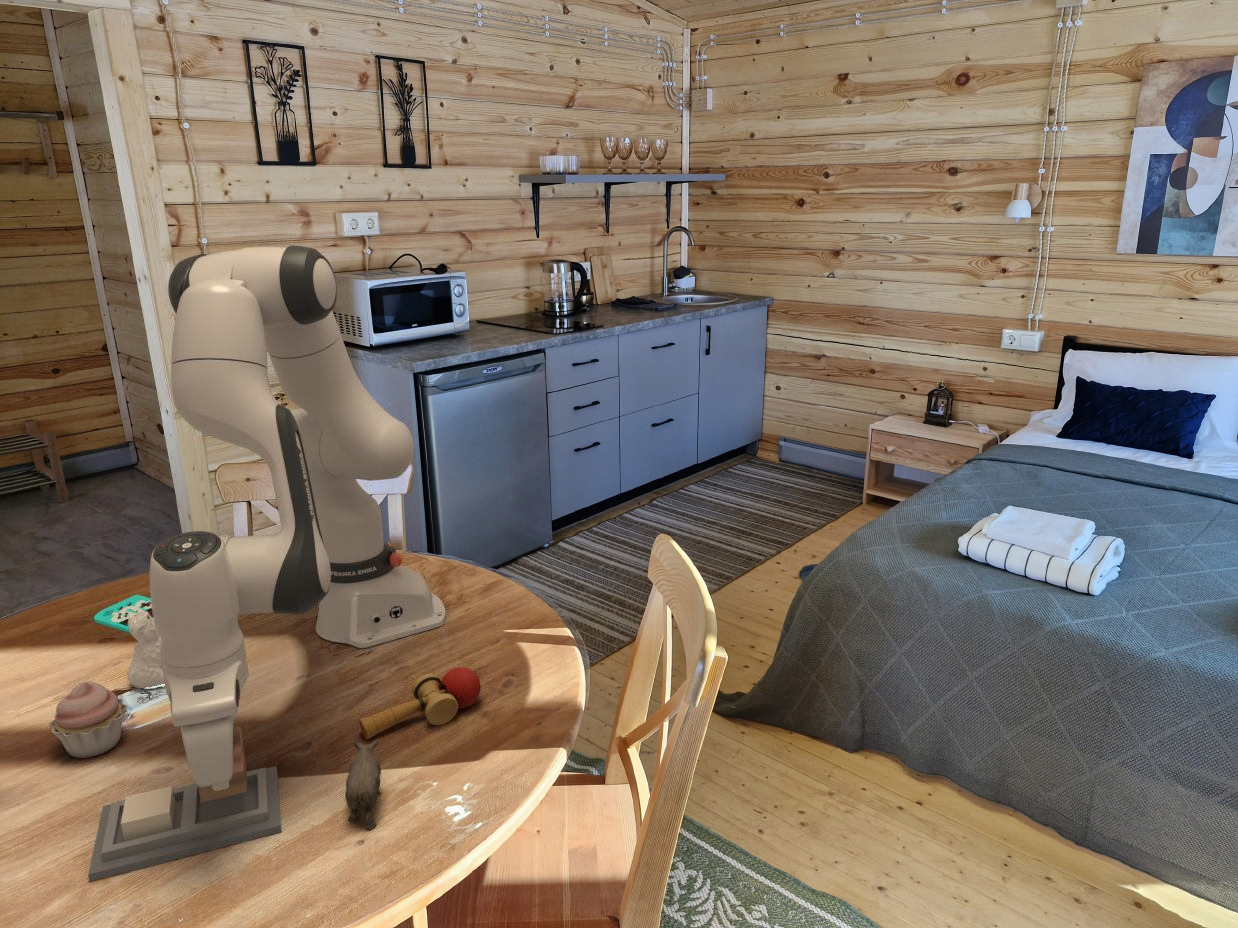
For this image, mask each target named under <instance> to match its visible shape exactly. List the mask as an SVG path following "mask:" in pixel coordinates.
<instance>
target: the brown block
mask: <svg viewBox="0 0 1238 928" xmlns="http://www.w3.org/2000/svg"><path fill="white" fill-rule="evenodd" d="M243 741H244V740H243V737H242V729H241V726H237V727H233V773H232V778H231V780H230V781H229V787H228V788H227V789H223V790H219V791H214V790H213V788H212V786H207V787H199V786H198V788H199V794H200V800H201V803H202V802H206V801H211V800H215V799H219V798H223V797H228V796H232V795H236V794H240V793H245V792H247V785H246V772H247V763H246V757H245V756H246V755H245V748H244V743H243Z"/></svg>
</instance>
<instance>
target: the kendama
mask: <svg viewBox="0 0 1238 928" xmlns="http://www.w3.org/2000/svg"><path fill="white" fill-rule="evenodd" d="M481 685H482V684H481V681H480V679H479V676H478V675H477V673H476V672H475V671H474V670H473V669H471V668H468V667H464V666H460V667H454V668H452V669H450V670H449V671H447V672H446V673H445V675H444V676H443V677H442V679H440V677H439V676H438V675H436V674H435V673H426V674H423V675H420V676H419V677H418V678H417V679H416V680H415V681H414V682H413V684H412V687H411V693H412V695H413V697H414V698H415V699H413V700H411V701H407V702H404V703H401V704H398V705H396V706H393V707H390V708H388V709H384V710H382V711H379V712H377V713H374V714H372V715H368V716H365V717H362V718H360V719H359V720H358V721H359V722H358V723H359V728H360V730H361V733H362V735H363V737H364V739H365V740H370V739H371V738H372V737H374V736H376V735H378V734H379V733H383V731H385V730H387V729H389V728H391V727H392V726H395V725H396V724H399V723H400V722H402V721H405V720H406V719H408V718H410V717H412V716H413V715H415V714H416V713H417V712H419V711H421V710H422V709H424V708H425V709H424V716H425V718H426V719H427V720H428V722H429V724H431V725H433V726H441V725H444V724H447V723H448V722H450V721H451V720H453V718H454V717H455V716H456V715H457V713H458V709H463V708H468V707H470V706H471V705H473V704H474V703H475V702H476V701H477V700H478V698H479V696H480V693H481V690H482V689H481Z"/></svg>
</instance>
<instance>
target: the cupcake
mask: <svg viewBox="0 0 1238 928" xmlns="http://www.w3.org/2000/svg"><path fill="white" fill-rule="evenodd" d="M71 689H72V690H71V691H70V692H69V694H68V695H67V696H65V697H63V698H62V699H61V700H60V701H58V703H57V705H56V707H55V708H56V710H55V712H56V713H54V719H53V720H51V721H50V722H48V723H47V725H48V727H49V728H50V729H51V732H52V734H53V735H55V736H56V737H57V738H58V739H59V740H60V741H61V743H62V745H63V747H64V748H65V750H66V753H68V754H69V755H70V756H72V757H74V758H78V759H79V758H80V759H81V758H82V759H86V758H91V757H96V756H99V755H102V754H104V753H106V752H108V751H110V750H111V749H113V748H114V747H115V746H116V745H117V744H118V743H119V742H120V739H121V736H122V726H123V720H124V719H123V718H124V717H125V714H126V713H127V710H128V708H129V706H128V704H124V698H118V697H117V695H116V694H115V692H113V691H111V690H109V689H108V688H107V687H105V685H103V684H101V683H98V682H95V681H92V680H91V681H90V680H88V681H87V680H86V681H83V682H80V683H78V684H76V685H75V686H74V687H72V688H71Z"/></svg>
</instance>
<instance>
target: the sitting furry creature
mask: <svg viewBox="0 0 1238 928" xmlns="http://www.w3.org/2000/svg"><path fill="white" fill-rule="evenodd" d="M127 625H128V626H129V631H130V634H131V636H132V637H133V638H134V639H135V640H136V641H137V642H136V645H134V646H135V647H134V648H133V651H134V653H133V656H132V659H131V663H130V665H129V667H128V671H127V672H126V674H127V677H126V678H127V680H128V681H129V684H130V685H132V686H133V687H134V688H137V689H141V688H146V687H152V686H157V685H161V684H165V682H164V676H163V671H162V665H161V659H160V648H161V636H160V634H159V632H158V630H157V628H156V626H155V624H154V619H153V618H152V617H151V616H150V615H149V613H148V612H147V611H146V612H145V611H142V612H139V613H138V614H136V616H129V618H128V624H127Z"/></svg>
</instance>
